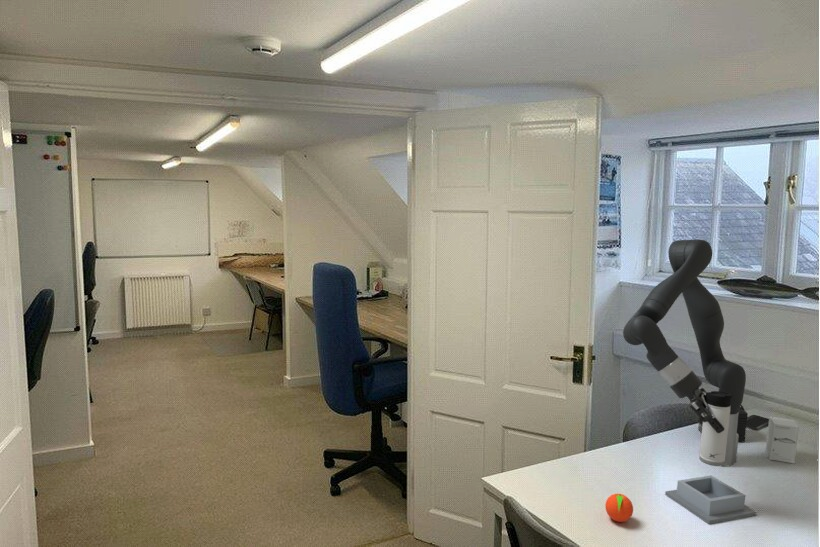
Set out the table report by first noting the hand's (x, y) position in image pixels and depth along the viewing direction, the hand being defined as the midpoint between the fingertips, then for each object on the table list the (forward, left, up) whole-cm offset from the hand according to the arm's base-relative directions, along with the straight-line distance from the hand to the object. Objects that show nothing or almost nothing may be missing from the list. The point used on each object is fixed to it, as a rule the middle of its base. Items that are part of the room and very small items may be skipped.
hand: (722, 427), depth 162 cm
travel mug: (+1, -1, -11) cm, 11 cm away
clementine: (+31, -1, -23) cm, 39 cm away
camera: (-41, -39, -23) cm, 61 cm away
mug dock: (+1, -1, -23) cm, 23 cm away
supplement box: (-46, -19, -23) cm, 55 cm away
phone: (-64, -45, -24) cm, 82 cm away
